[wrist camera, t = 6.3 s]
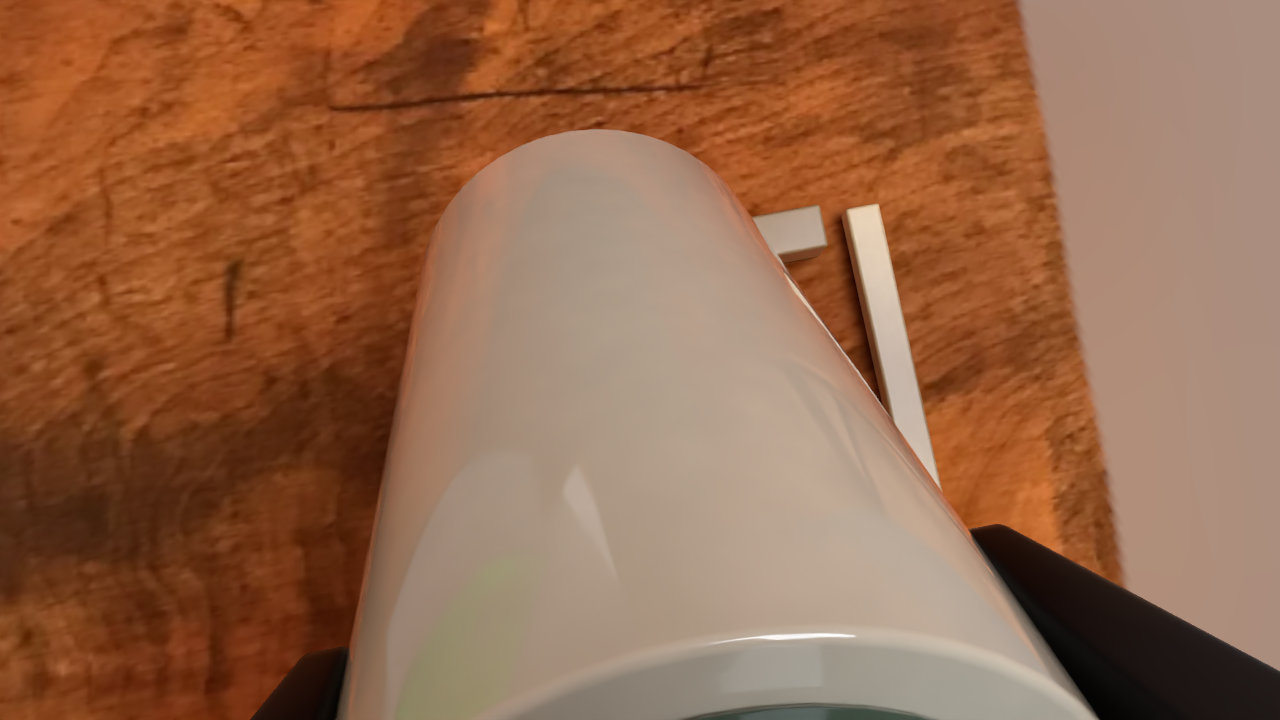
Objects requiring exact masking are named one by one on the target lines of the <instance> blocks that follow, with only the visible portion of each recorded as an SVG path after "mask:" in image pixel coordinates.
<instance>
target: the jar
mask: <svg viewBox="0 0 1280 720" xmlns="http://www.w3.org/2000/svg"><path fill="white" fill-rule="evenodd" d="M335 720H1100V719H1099V717H1098V716H1097V714H1096V713H1095V711H1094V710H1093V709H1092V707H1091V706H1090V704H1089V703H1088V701H1087V700H1086V698H1085V697H1084V696H1083V694H1082V693H1081V691H1080V690H1079V688H1078V687H1077V685H1076V684H1075V683H1074V681H1073V680H1072V678H1071V677H1070V675H1069V674H1068V672H1067V671H1066V670H1065V668H1064V667H1063V665H1062V664H1061V662H1060V661H1059V660H1058V658H1057V657H1056V655H1055V654H1054V652H1053V651H1052V649H1051V648H1050V647H1049V645H1048V644H1047V642H1046V641H1045V639H1044V638H1043V636H1042V635H1041V634H1040V632H1039V631H1038V629H1037V628H1036V626H1035V625H1034V624H1033V622H1032V621H1031V619H1030V618H1029V616H1028V615H1027V613H1026V612H1025V611H1024V609H1023V608H1022V606H1021V605H1020V603H1019V602H1018V600H1017V599H1016V598H1015V596H1014V595H1013V593H1012V592H1011V590H1010V589H1009V587H1008V586H1007V585H1006V583H1005V582H1004V580H1003V579H1002V577H1001V576H1000V575H999V573H998V572H997V570H996V569H995V567H994V566H993V564H992V563H991V562H990V560H989V559H988V557H987V556H986V554H985V553H984V551H983V550H982V549H981V547H980V546H979V544H978V543H977V541H976V540H975V538H974V537H973V536H972V534H971V533H970V531H969V530H968V528H967V527H966V526H965V524H964V523H963V521H962V520H961V518H960V517H959V515H958V514H957V513H956V511H955V510H954V508H953V507H952V505H951V504H950V502H949V501H948V500H947V498H946V497H945V495H944V494H943V492H942V491H941V490H940V488H939V487H938V485H937V484H936V482H935V481H934V479H933V478H932V477H931V475H930V474H929V472H928V471H927V469H926V468H925V466H924V465H923V464H922V462H921V461H920V459H919V458H918V456H917V455H916V453H915V452H914V451H913V449H912V448H911V446H910V445H909V443H908V442H907V441H906V439H905V438H904V436H903V435H902V433H901V432H900V430H899V429H898V428H897V426H896V425H895V423H894V422H893V420H892V419H891V417H890V416H889V415H888V413H887V412H886V410H885V409H884V407H883V406H882V404H881V403H880V402H879V400H878V399H877V397H876V396H875V394H874V393H873V392H872V390H871V389H870V387H869V386H868V384H867V383H866V381H865V380H864V379H863V377H862V376H861V374H860V373H859V371H858V370H857V368H856V367H855V366H854V364H853V363H852V361H851V360H850V358H849V357H848V356H847V354H846V353H845V351H844V350H843V348H842V347H841V345H840V344H839V343H838V341H837V340H836V338H835V337H834V335H833V334H832V332H831V331H830V330H829V328H828V327H827V325H826V324H825V322H824V321H823V319H822V318H821V317H820V315H819V314H818V312H817V311H816V309H815V308H814V307H813V305H812V304H811V302H810V301H809V299H808V298H807V296H806V295H805V294H804V292H803V291H802V289H801V288H800V286H799V285H798V283H797V282H796V281H795V279H794V278H793V276H792V275H791V273H790V272H789V270H788V269H787V268H786V266H785V265H784V263H783V262H782V260H781V259H780V258H779V256H778V255H777V253H776V252H775V250H774V249H773V247H772V246H771V245H770V243H769V242H768V240H767V239H766V237H765V236H764V234H763V233H762V232H761V230H760V229H759V227H758V226H757V224H756V223H755V222H754V220H753V219H752V217H751V216H750V214H749V213H748V211H747V210H746V209H745V207H744V206H743V204H742V203H741V201H740V200H739V198H738V197H737V196H736V194H735V193H734V192H733V191H732V190H731V189H730V187H729V186H728V185H727V184H726V183H725V182H724V180H723V179H722V178H721V177H719V176H718V175H717V174H716V173H715V172H714V171H713V170H711V169H710V168H709V167H708V166H707V165H706V164H704V163H703V162H701V161H700V160H698V159H697V158H695V157H694V156H692V155H691V154H689V153H688V152H686V151H684V150H682V149H680V148H677V147H675V146H673V145H671V144H669V143H667V142H665V141H661V140H658V139H655V138H652V137H649V136H646V135H642V134H637V133H631V132H625V131H620V130H599V129H592V130H581V131H570V132H565V133H560V134H556V135H551V136H547V137H543V138H541V139H538V140H535V141H533V142H530V143H527V144H524V145H522V146H520V147H518V148H516V149H514V150H512V151H510V152H508V153H506V154H505V155H503V156H501V157H499V158H498V159H496V160H495V161H493V162H492V163H491V164H489V165H488V166H486V167H485V168H484V169H482V170H481V171H479V172H478V173H477V174H476V175H475V176H474V177H473V178H472V179H471V180H470V181H469V182H468V183H467V184H466V185H465V186H463V187H462V189H461V190H460V191H459V192H458V194H457V195H456V196H455V197H454V199H453V200H452V201H451V202H450V203H449V205H448V206H447V208H446V209H445V211H444V213H443V214H442V216H441V218H440V219H439V221H438V223H437V224H436V226H435V229H434V231H433V234H432V236H431V238H430V241H429V243H428V246H427V249H426V253H425V257H424V261H423V265H422V269H421V274H420V279H419V285H418V290H417V295H416V300H415V305H414V311H413V316H412V321H411V326H410V331H409V337H408V342H407V347H406V352H405V357H404V363H403V368H402V373H401V378H400V383H399V389H398V394H397V399H396V404H395V410H394V415H393V420H392V425H391V430H390V436H389V441H388V446H387V451H386V456H385V462H384V467H383V472H382V477H381V482H380V488H379V493H378V498H377V503H376V508H375V514H374V519H373V524H372V529H371V534H370V540H369V545H368V550H367V555H366V560H365V566H364V571H363V576H362V581H361V586H360V592H359V597H358V602H357V607H356V612H355V618H354V623H353V628H352V633H351V638H350V644H349V649H348V654H347V659H346V664H345V670H344V675H343V680H342V685H341V690H340V696H339V701H338V706H337V711H336V716H335Z"/></svg>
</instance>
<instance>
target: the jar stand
mask: <svg viewBox="0 0 1280 720" xmlns="http://www.w3.org/2000/svg"><path fill="white" fill-rule="evenodd" d="M752 219H753V220H754V222H755V223H756V224H757V226H758V227H759V229H760V230H761V232H762V233H763V234H764V236H765V237H766V239H767V240H768V242H769V243H770V245H771V246H772V247H773V249H774V250H775V252H776V253H777V255H778V256H779V258H780V259H781V260H782V262H783V263H787V262H792V261H797V260H802V259H808V258H813V257H817V256H819V255H820V253H821V252H822V251H823V250H824V249H825V248H826V247H827V245H828V242H827V237H826V233H825V228H824V223H823V219H822V214H821V209H820V207H819V205H812V206H807V207H801V208H796V209H791V210H785V211H780V212H775V213H770V214H764V215H759V216H754V217H752ZM842 222H843V226H844V231H845V236H846V240H847V245H848V249H849V254H850V259H851V263H852V268H853V273H854V277H855V282H856V286H857V291H858V296H859V300H860V305H861V309H862V314H863V319H864V323H865V328H866V332H867V337H868V342H869V346H870V351H871V355H872V360H873V365H874V369H875V374H876V378H877V383H878V388H879V392H880V397H881V401H882V406H883V407H884V409H885V410H886V412H887V413H888V415H889V416H890V417H891V419H892V420H893V422H894V423H895V425H896V426H897V428H898V429H899V430H900V432H901V433H902V435H903V436H904V438H905V439H906V441H907V442H908V443H909V445H910V446H911V448H912V449H913V451H914V452H915V453H916V455H917V456H918V458H919V459H920V461H921V462H922V464H923V465H924V466H925V468H926V469H927V471H928V472H929V474H930V475H931V477H932V478H933V479H934V481H935V482H936V484H937V485H938V487H939V488H940V490H941V491H942V488H941V483H940V479H939V474H938V470H937V465H936V461H935V456H934V452H933V447H932V443H931V438H930V434H929V429H928V425H927V420H926V416H925V411H924V407H923V402H922V398H921V393H920V389H919V384H918V380H917V375H916V371H915V366H914V361H913V357H912V352H911V348H910V343H909V339H908V334H907V330H906V325H905V321H904V316H903V312H902V307H901V303H900V298H899V294H898V289H897V285H896V280H895V276H894V271H893V267H892V262H891V258H890V253H889V249H888V244H887V240H886V235H885V231H884V226H883V222H882V217H881V213H880V208H879V205H878V204H871V205H865V206H860V207H855V208H849V209H847V210H846V211H845V212H844V213H843V214H842Z"/></svg>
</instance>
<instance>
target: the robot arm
mask: <svg viewBox="0 0 1280 720" xmlns="http://www.w3.org/2000/svg"><path fill="white" fill-rule="evenodd" d="M968 530H969V531H970V533H971V534H972V536H973V537H974V538H975V540H976V541H977V543H978V544H979V546H980V547H981V549H982V550H983V551H984V553H985V554H986V556H987V557H988V559H989V560H990V562H991V563H992V564H993V566H994V567H995V569H996V570H997V572H998V573H999V575H1000V576H1001V577H1002V579H1003V580H1004V582H1005V583H1006V585H1007V586H1008V587H1009V589H1010V590H1011V592H1012V593H1013V595H1014V596H1015V598H1016V599H1017V600H1018V602H1019V603H1020V605H1021V606H1022V608H1023V609H1024V611H1025V612H1026V613H1027V615H1028V616H1029V618H1030V619H1031V621H1032V622H1033V624H1034V625H1035V626H1036V628H1037V629H1038V631H1039V632H1040V634H1041V635H1042V636H1043V638H1044V639H1045V641H1046V642H1047V644H1048V645H1049V647H1050V648H1051V649H1052V651H1053V652H1054V654H1055V655H1056V657H1057V658H1058V660H1059V661H1060V662H1061V664H1062V665H1063V667H1064V668H1065V670H1066V671H1067V672H1068V674H1069V675H1070V677H1071V678H1072V680H1073V681H1074V683H1075V684H1076V685H1077V687H1078V688H1079V690H1080V691H1081V693H1082V694H1083V696H1084V697H1085V698H1086V700H1087V701H1088V703H1089V704H1090V706H1091V707H1092V709H1093V710H1094V711H1095V713H1096V714H1097V716H1098V717H1099V719H1100V720H1280V671H1278V670H1276V669H1274V668H1273V667H1271V666H1269V665H1267V664H1265V663H1263V662H1261V661H1259V660H1258V659H1256V658H1254V657H1252V656H1250V655H1248V654H1246V653H1244V652H1242V651H1241V650H1239V649H1237V648H1235V647H1233V646H1231V645H1229V644H1227V643H1226V642H1224V641H1222V640H1220V639H1218V638H1216V637H1214V636H1212V635H1210V634H1209V633H1206V632H1205V631H1203V630H1201V629H1199V628H1197V627H1195V626H1194V625H1192V624H1190V623H1188V622H1186V621H1184V620H1182V619H1180V618H1178V617H1177V616H1174V615H1173V614H1171V613H1169V612H1167V611H1165V610H1163V609H1162V608H1160V607H1158V606H1156V605H1154V604H1152V603H1150V602H1148V601H1147V600H1145V599H1143V598H1141V597H1139V596H1137V595H1135V594H1133V593H1131V592H1130V591H1128V590H1126V589H1124V588H1122V587H1120V586H1118V585H1116V584H1115V583H1113V582H1111V581H1109V580H1107V579H1105V578H1103V577H1101V576H1099V575H1098V574H1096V573H1094V572H1092V571H1090V570H1088V569H1086V568H1084V567H1083V566H1081V565H1079V564H1077V563H1075V562H1073V561H1071V560H1069V559H1067V558H1066V557H1064V556H1062V555H1060V554H1058V553H1056V552H1054V551H1052V550H1051V549H1049V548H1047V547H1045V546H1043V545H1041V544H1039V543H1037V542H1035V541H1034V540H1032V539H1030V538H1028V537H1026V536H1024V535H1022V534H1020V533H1019V532H1017V531H1015V530H1013V529H1011V528H1009V527H1007V526H1004V525H1001V524H994V525H988V526H983V527H978V528H972V529H968ZM347 654H348V648H346V647H337V648H332V649H326V650H321V651H316V652H311V653H308V654H306V655H305V656H303V657H302V658H301V659H300V660H299V661H298V662H297V664H296V665H295V666H294V667H293V668H292V670H291V671H290V672H289V673H288V674H287V676H286V677H285V678H284V679H283V680H282V682H281V683H280V684H279V685H278V687H277V688H276V689H275V690H274V691H273V693H272V694H271V695H270V696H269V697H268V699H267V700H266V701H265V702H264V703H263V705H262V706H261V707H260V708H259V709H258V711H257V712H256V713H255V714H254V715H253V717H252V718H251V719H250V720H335V716H336V711H337V706H338V701H339V696H340V690H341V685H342V680H343V675H344V670H345V664H346V659H347Z"/></svg>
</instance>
